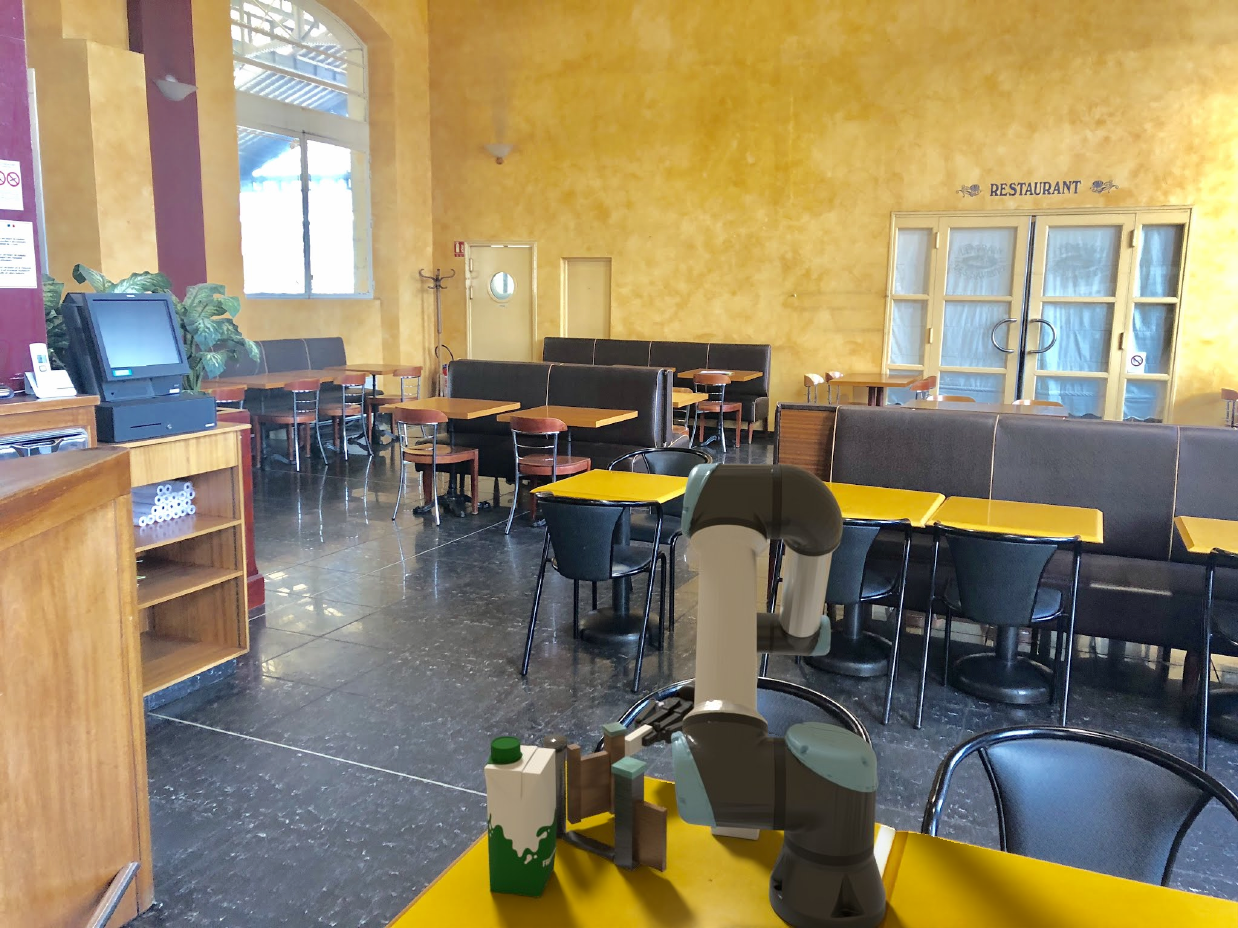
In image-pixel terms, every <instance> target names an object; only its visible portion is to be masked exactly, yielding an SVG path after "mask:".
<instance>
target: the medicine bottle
mask: <svg viewBox="0 0 1238 928" xmlns="http://www.w3.org/2000/svg"><path fill="white" fill-rule="evenodd" d="M760 831H761V829H747V828H730V827H716V828H712V827H710V833H711V834H712V835H715V836H716V835H717V836H725V837H730V838H740V839H747V840H752V841H753V840H754V841H757V840H758V839H759V837H760Z"/></svg>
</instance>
